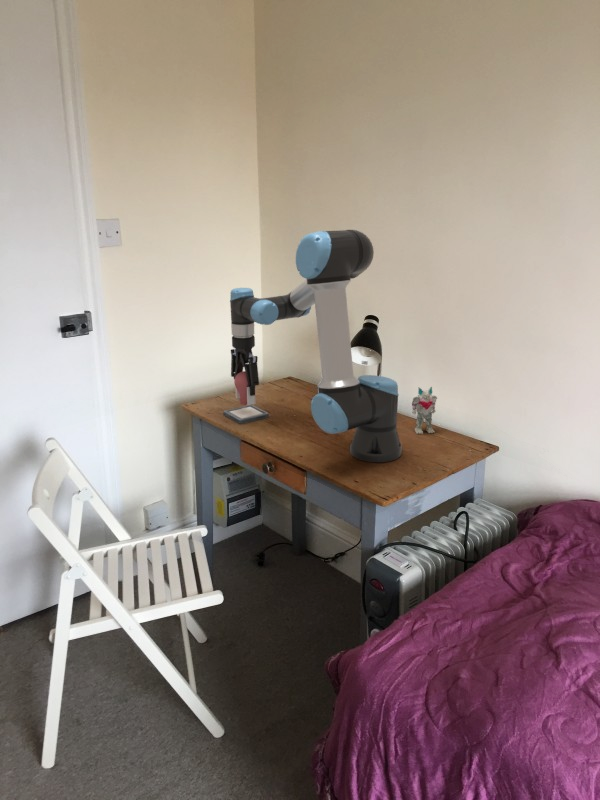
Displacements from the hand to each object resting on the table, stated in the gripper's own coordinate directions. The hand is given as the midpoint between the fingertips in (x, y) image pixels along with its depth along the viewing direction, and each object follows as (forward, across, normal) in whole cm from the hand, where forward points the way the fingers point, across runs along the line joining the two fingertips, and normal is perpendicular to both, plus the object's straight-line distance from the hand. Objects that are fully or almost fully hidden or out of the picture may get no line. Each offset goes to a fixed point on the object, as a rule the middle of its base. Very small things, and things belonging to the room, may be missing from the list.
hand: (245, 400), depth 222 cm
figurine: (+6, -46, -39) cm, 61 cm away
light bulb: (+2, 0, 0) cm, 2 cm away
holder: (+6, 0, 0) cm, 6 cm away
